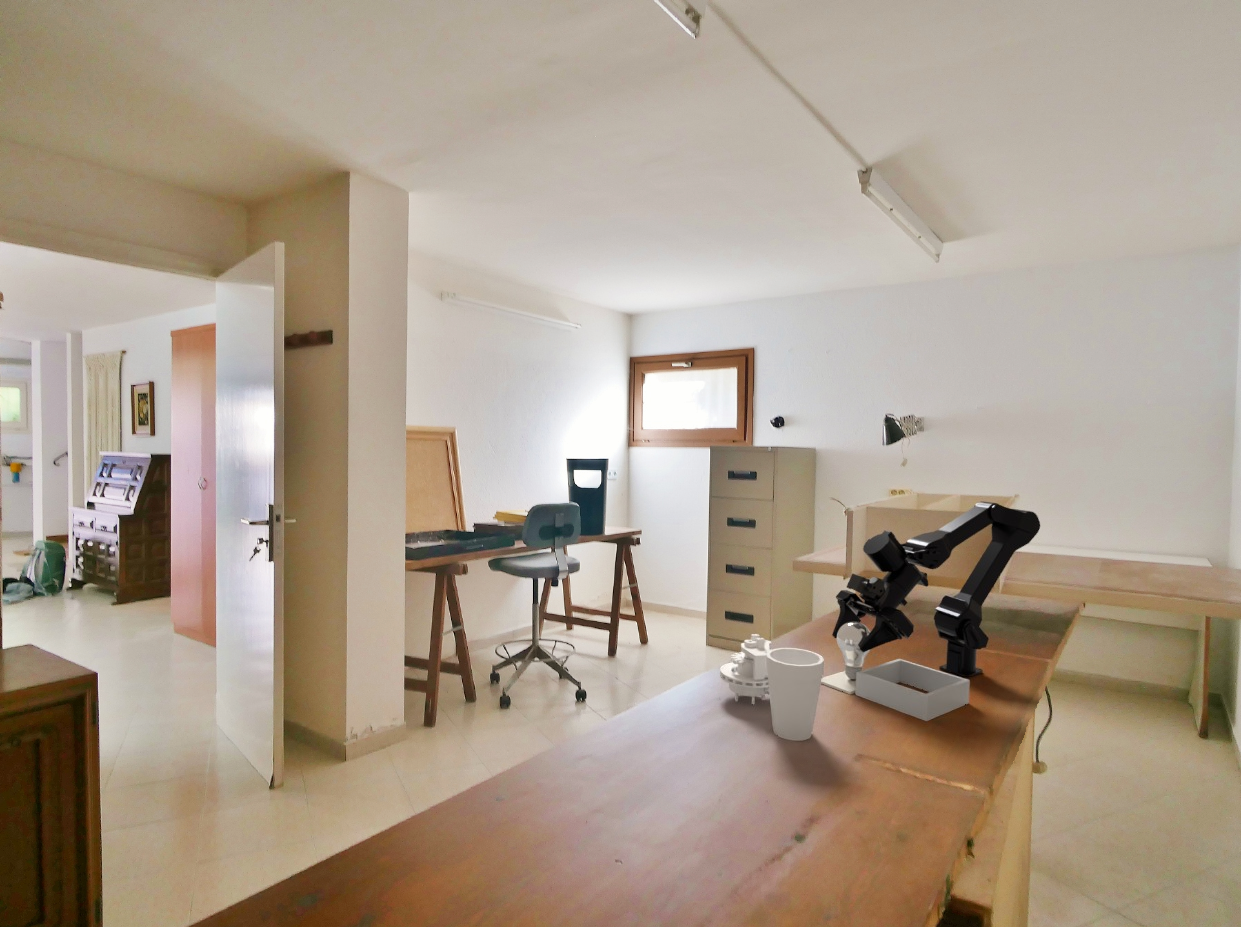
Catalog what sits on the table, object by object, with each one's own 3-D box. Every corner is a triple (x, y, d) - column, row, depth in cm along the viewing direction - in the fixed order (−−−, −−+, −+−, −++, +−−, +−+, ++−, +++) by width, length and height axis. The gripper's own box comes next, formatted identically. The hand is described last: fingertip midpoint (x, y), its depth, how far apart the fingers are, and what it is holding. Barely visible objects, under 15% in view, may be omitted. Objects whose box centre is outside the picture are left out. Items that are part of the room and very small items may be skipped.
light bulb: (864, 689, 137) (867, 629, 136) (830, 680, 141) (832, 622, 140) (875, 679, 143) (878, 621, 142) (842, 671, 147) (844, 615, 146)
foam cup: (822, 726, 121) (825, 652, 120) (819, 748, 112) (822, 669, 111) (767, 717, 124) (769, 645, 123) (760, 739, 115) (762, 661, 114)
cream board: (852, 670, 149) (852, 668, 149) (886, 682, 142) (886, 679, 142) (816, 681, 142) (816, 679, 142) (850, 694, 135) (850, 691, 135)
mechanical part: (720, 685, 139) (722, 627, 138) (782, 691, 136) (784, 631, 136) (717, 707, 127) (719, 644, 127) (785, 714, 125) (787, 649, 125)
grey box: (898, 680, 144) (899, 658, 144) (968, 703, 132) (969, 680, 132) (855, 694, 135) (856, 672, 135) (926, 721, 123) (927, 696, 123)
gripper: (845, 552, 151) (798, 605, 148) (903, 569, 133) (852, 630, 130) (874, 586, 154) (829, 639, 151) (935, 608, 136) (886, 668, 133)
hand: (847, 643), depth 141 cm, fingers open, 9 cm apart
